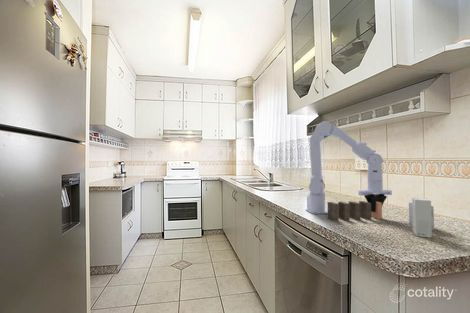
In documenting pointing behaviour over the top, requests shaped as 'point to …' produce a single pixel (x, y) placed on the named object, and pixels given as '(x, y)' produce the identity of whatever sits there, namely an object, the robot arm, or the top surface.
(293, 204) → the top surface
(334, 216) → the dark tile
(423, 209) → the skincare box
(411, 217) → the medicine box
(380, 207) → the peach block
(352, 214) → the dark tile
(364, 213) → the domino block
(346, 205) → the dark tile
